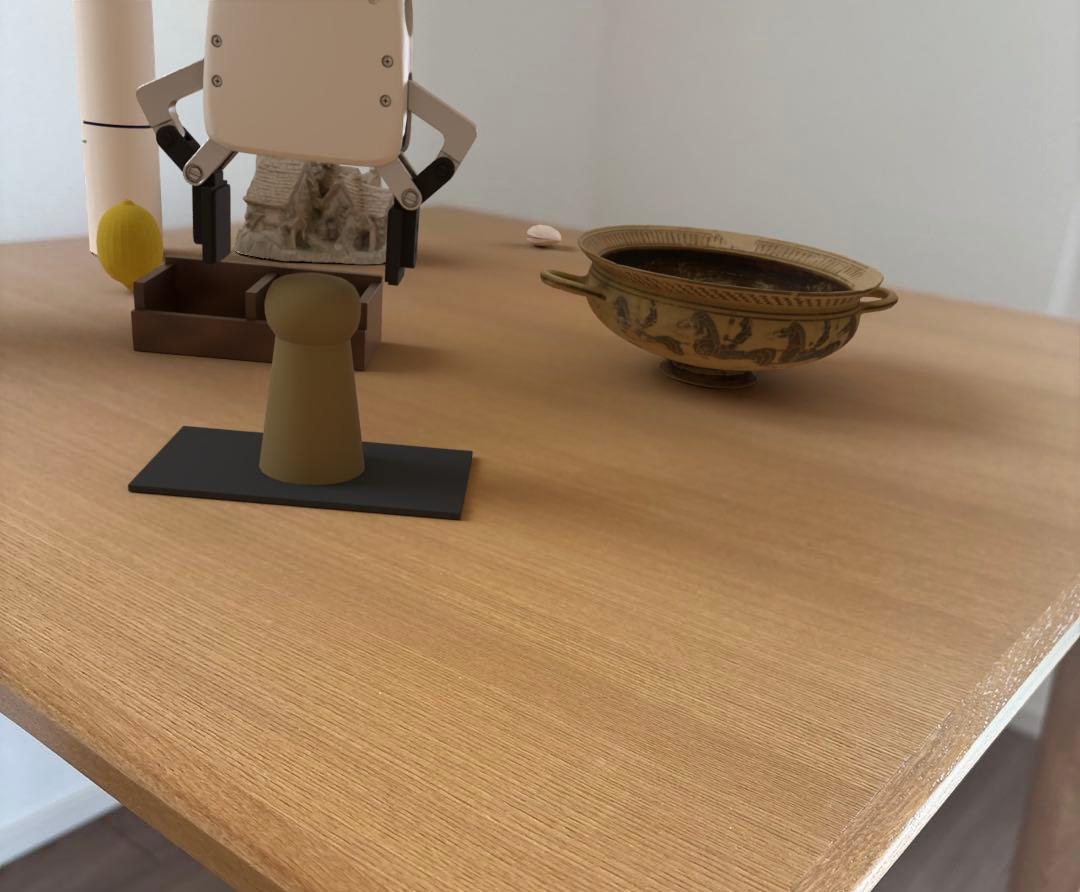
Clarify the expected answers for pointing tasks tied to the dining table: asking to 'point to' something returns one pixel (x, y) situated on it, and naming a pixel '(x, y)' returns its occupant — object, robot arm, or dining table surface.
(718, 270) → the ceramic bowl
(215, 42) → the robot arm
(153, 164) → the cylindrical container
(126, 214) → the lemon
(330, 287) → the cork
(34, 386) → the dining table surface
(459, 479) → the mat
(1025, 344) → the dining table surface
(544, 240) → the clam shell
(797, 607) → the dining table surface
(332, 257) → the ceramic cottage
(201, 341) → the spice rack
